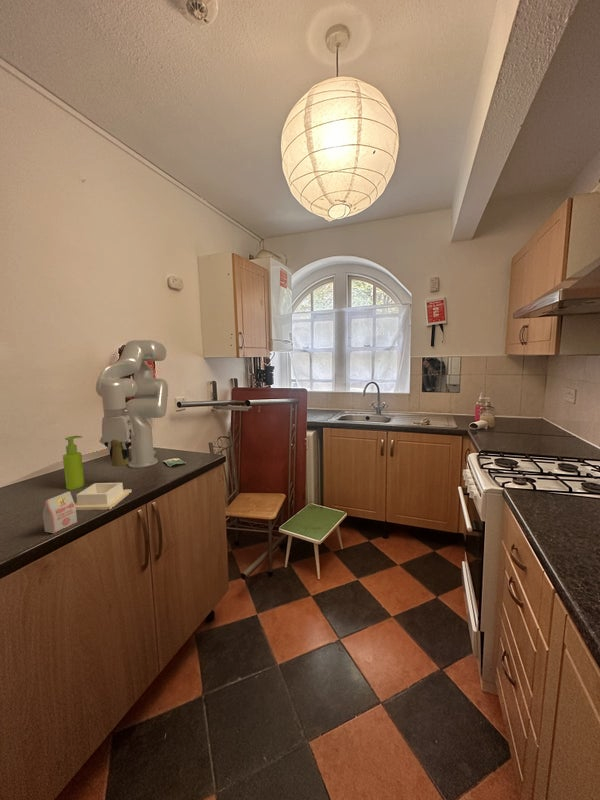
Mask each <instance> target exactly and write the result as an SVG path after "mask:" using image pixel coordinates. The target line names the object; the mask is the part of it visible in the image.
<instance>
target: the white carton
mask: <svg viewBox="0 0 600 800" xmlns="http://www.w3.org/2000/svg"><path fill="white" fill-rule="evenodd" d="M77 518H78V516H77V510H76V507H75V501H74V499H73V496H72V494H71V491H66V492H64V493H61V494H59V495H56V496H54V497H51V498H48V499H46V500H44V506H43V510H42V519H43V527H44V533H45V532H50V533H55V532H57V531H59V530H61V529H63V528H66V527H68V526H70V525H72V524H74V525H76V524H78V519H77ZM75 523H76V524H75ZM72 526H73V525H72ZM70 527H71V526H70ZM68 528H69V527H68Z"/></svg>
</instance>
